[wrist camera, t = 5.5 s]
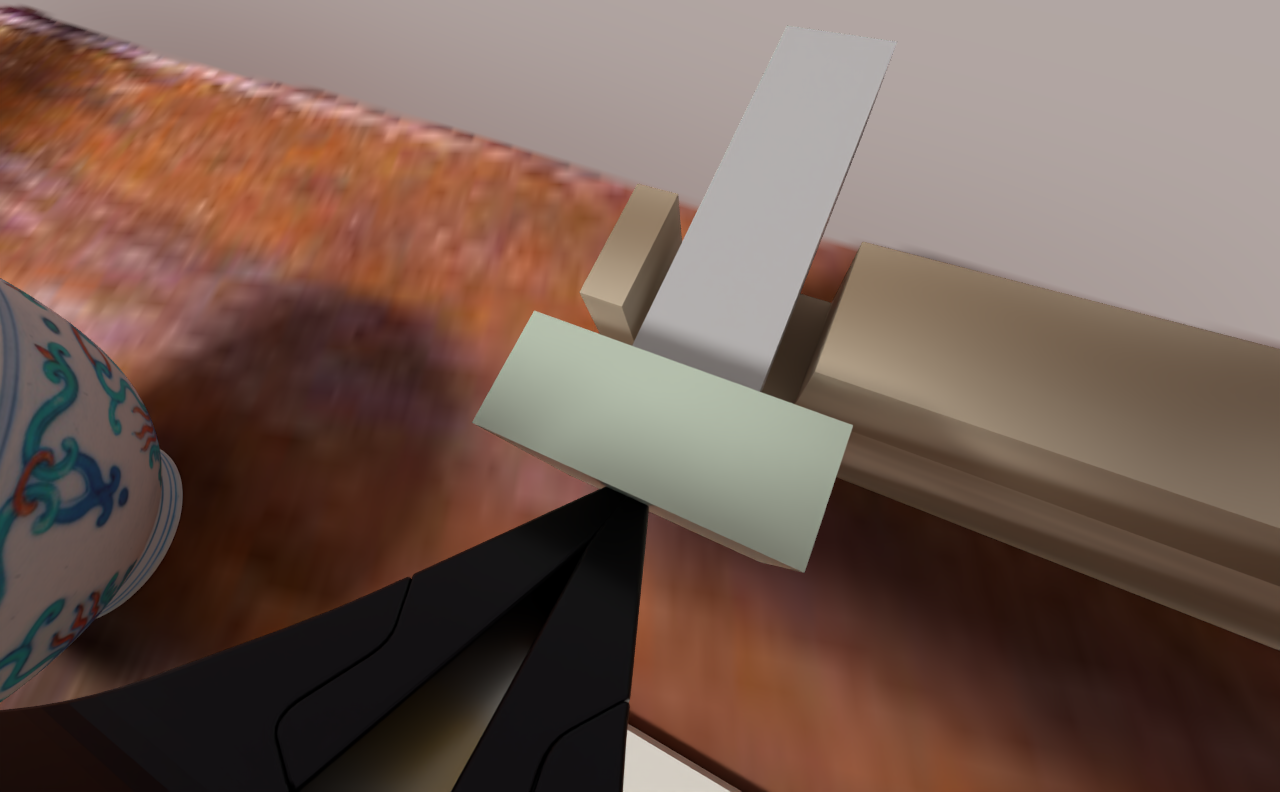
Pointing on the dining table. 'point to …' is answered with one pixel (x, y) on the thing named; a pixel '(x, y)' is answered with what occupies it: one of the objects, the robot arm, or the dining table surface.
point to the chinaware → (71, 487)
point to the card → (664, 769)
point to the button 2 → (715, 331)
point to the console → (1025, 416)
